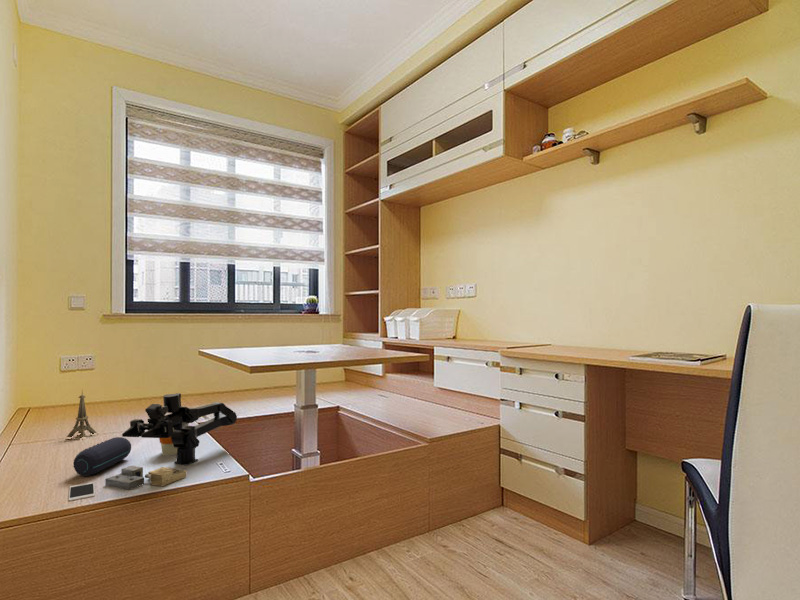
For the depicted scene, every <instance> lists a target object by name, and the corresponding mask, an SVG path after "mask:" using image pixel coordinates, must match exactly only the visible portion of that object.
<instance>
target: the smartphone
mask: <svg viewBox="0 0 800 600" xmlns="http://www.w3.org/2000/svg"><path fill="white" fill-rule="evenodd" d="M95 493H96V492H95V482H94V481H93V482H85V483H81V484H76V485H70V486H69V492H68V502H73V500H74V501H79V500H78V499H80V500H84V498H85V499H90V498H94V497H95V495H96V494H95Z"/></svg>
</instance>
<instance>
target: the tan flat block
mask: <svg viewBox="0 0 800 600" xmlns="http://www.w3.org/2000/svg"><path fill="white" fill-rule="evenodd" d="M186 477H187V470H184V469H178V468H171V467H165V466H162V467H160V468H156V469H153V470H151V471H148V473H146V474H144V479H150V485H154V486H158V487H164V486H167V485H169V484H172V483H174V482H176V481H180V480H181V479H184V478H186Z"/></svg>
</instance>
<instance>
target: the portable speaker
mask: <svg viewBox="0 0 800 600" xmlns="http://www.w3.org/2000/svg"><path fill="white" fill-rule="evenodd" d="M131 450H132V444H131V441H130V440H128V439H127V437H122V436H117V437H116V436H115V437H112V438H110V439H108V440H104V441H101V442H100V443H97V444H94V445H93V446H89V447H88V448H85V449H83V450H81V451H80V452H79V453H78V454H76V456H75V457H74V460H73V465H72V466H73V469H74V471H75V472H76V474H78V475H80V476H82V477H89V476H93V475H96V474H98V473H99V472H101V471H103V470H106V469H108V468H109V467H112V466H113V465H115V464H118V463H119V462H121V461H123V460H125V459H126V458H127V457H128V456H129V455H130V453H131Z"/></svg>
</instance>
